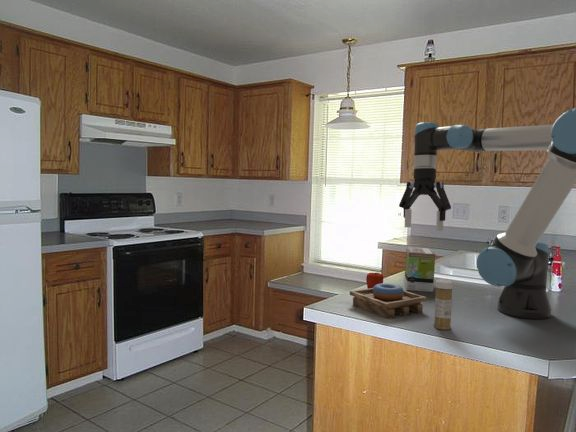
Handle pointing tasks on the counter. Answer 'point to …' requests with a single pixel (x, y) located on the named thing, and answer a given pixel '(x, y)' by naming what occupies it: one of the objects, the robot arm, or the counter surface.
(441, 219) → the robot arm
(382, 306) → the wooden pallet tray
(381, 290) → the doughnut
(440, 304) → the sprinkles bottle
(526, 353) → the counter surface
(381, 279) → the red bell pepper
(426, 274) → the tea box
